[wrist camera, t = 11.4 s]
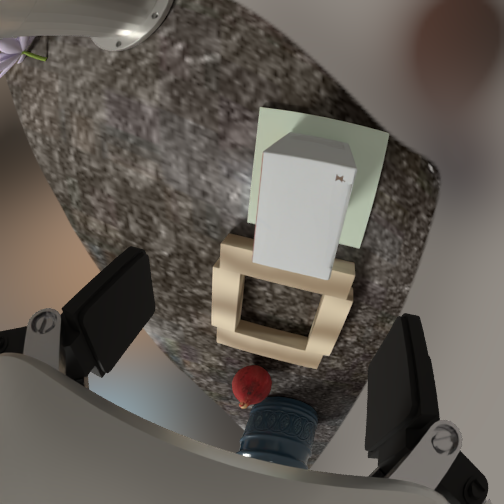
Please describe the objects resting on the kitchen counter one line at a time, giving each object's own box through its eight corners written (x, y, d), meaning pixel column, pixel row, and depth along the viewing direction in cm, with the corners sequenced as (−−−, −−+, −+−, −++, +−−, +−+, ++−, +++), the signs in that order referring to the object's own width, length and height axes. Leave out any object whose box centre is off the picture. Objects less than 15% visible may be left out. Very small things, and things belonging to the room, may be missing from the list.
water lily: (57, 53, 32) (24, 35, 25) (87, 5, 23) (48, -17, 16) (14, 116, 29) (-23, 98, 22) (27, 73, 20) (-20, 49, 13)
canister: (239, 401, 50) (207, 479, 35) (291, 388, 43) (264, 483, 29) (280, 430, 53) (259, 500, 38) (332, 420, 46) (316, 502, 31)
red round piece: (247, 349, 41) (230, 391, 34) (282, 364, 41) (269, 407, 34) (236, 367, 44) (219, 406, 37) (268, 381, 44) (255, 421, 37)
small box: (289, 130, 24) (261, 146, 16) (350, 142, 23) (359, 165, 14) (278, 209, 28) (248, 264, 20) (333, 221, 27) (329, 283, 19)
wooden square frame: (222, 231, 32) (213, 241, 30) (361, 264, 29) (362, 277, 27) (217, 328, 40) (211, 340, 38) (324, 356, 38) (322, 370, 35)
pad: (261, 107, 24) (259, 107, 24) (388, 132, 22) (389, 133, 22) (248, 220, 31) (247, 222, 30) (359, 245, 28) (359, 248, 28)
